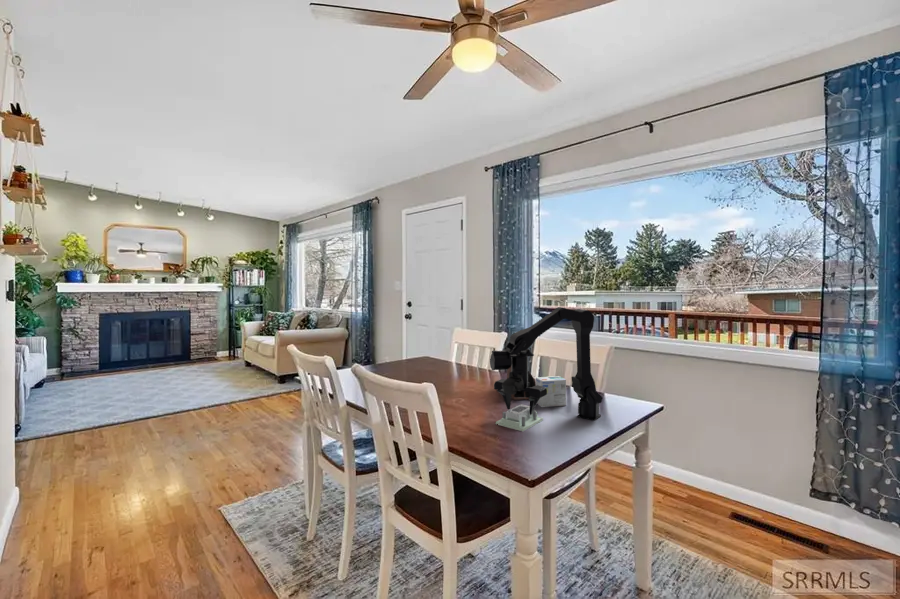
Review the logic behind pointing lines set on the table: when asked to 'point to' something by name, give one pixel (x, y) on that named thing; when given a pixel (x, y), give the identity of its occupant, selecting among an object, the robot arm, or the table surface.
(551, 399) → the light bulb box
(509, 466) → the table surface
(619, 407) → the table surface
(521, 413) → the block
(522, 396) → the letter holder
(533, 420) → the tray
